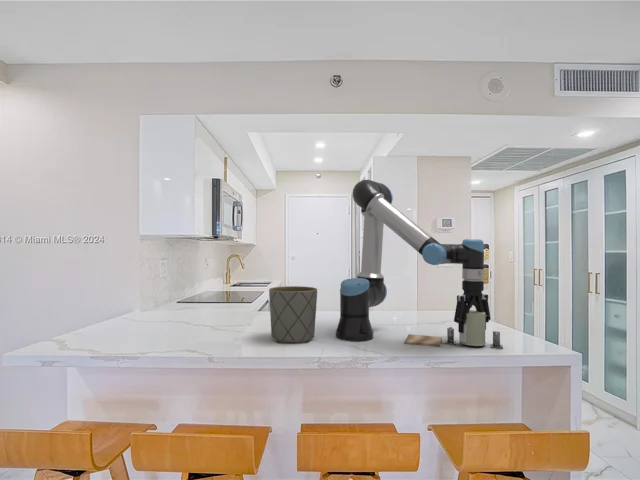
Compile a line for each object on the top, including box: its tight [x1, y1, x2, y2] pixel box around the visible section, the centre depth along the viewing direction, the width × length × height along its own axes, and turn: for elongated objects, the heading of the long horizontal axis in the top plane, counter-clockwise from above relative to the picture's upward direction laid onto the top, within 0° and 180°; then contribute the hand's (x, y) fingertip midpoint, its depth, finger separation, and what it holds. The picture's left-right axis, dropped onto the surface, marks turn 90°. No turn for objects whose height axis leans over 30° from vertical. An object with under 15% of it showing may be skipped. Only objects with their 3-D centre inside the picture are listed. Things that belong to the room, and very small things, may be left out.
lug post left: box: [444, 326, 457, 346], centre depth 148 cm, size 4×5×6 cm
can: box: [458, 309, 487, 347], centre depth 145 cm, size 9×9×12 cm
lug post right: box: [489, 330, 504, 350], centre depth 142 cm, size 4×5×6 cm
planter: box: [268, 285, 318, 344], centre depth 154 cm, size 19×19×20 cm
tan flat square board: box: [404, 333, 443, 348], centre depth 151 cm, size 13×13×1 cm
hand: (472, 340), depth 145 cm, fingers closed on can, 9 cm apart
